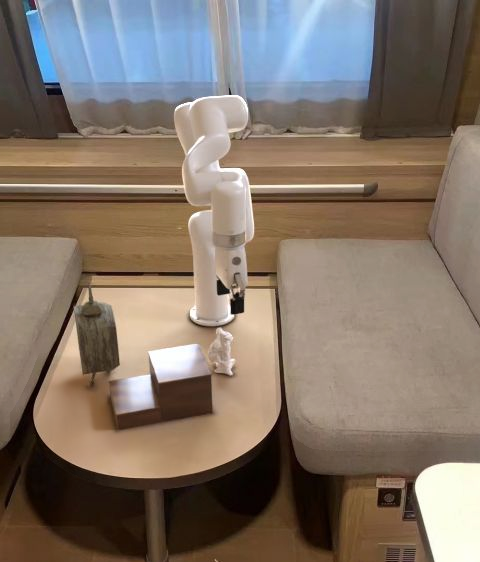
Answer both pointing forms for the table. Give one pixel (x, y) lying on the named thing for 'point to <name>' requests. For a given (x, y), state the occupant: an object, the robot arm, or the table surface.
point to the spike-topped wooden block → (96, 337)
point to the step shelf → (164, 389)
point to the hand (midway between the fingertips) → (230, 303)
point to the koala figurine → (222, 352)
